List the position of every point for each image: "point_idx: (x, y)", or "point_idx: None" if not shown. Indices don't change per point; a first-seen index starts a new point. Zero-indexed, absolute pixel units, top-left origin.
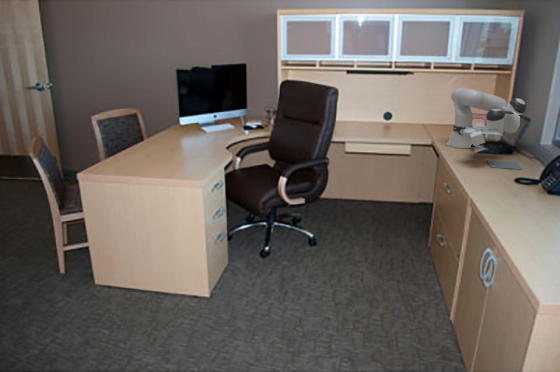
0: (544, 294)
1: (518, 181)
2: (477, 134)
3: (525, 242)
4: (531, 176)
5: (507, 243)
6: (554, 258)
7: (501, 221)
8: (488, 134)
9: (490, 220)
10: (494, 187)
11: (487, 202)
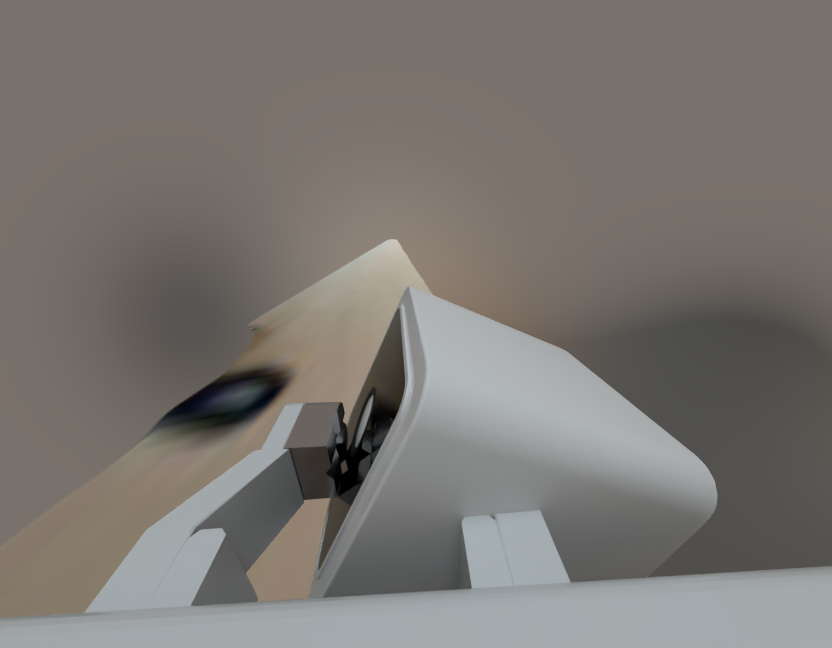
0: (392, 240)
1: (268, 389)
2: (471, 312)
3: (385, 256)
4: (126, 469)
5: (402, 254)
6: (369, 251)
7: (399, 269)
8: (62, 620)
9: (412, 268)
10: (379, 336)
11: None
